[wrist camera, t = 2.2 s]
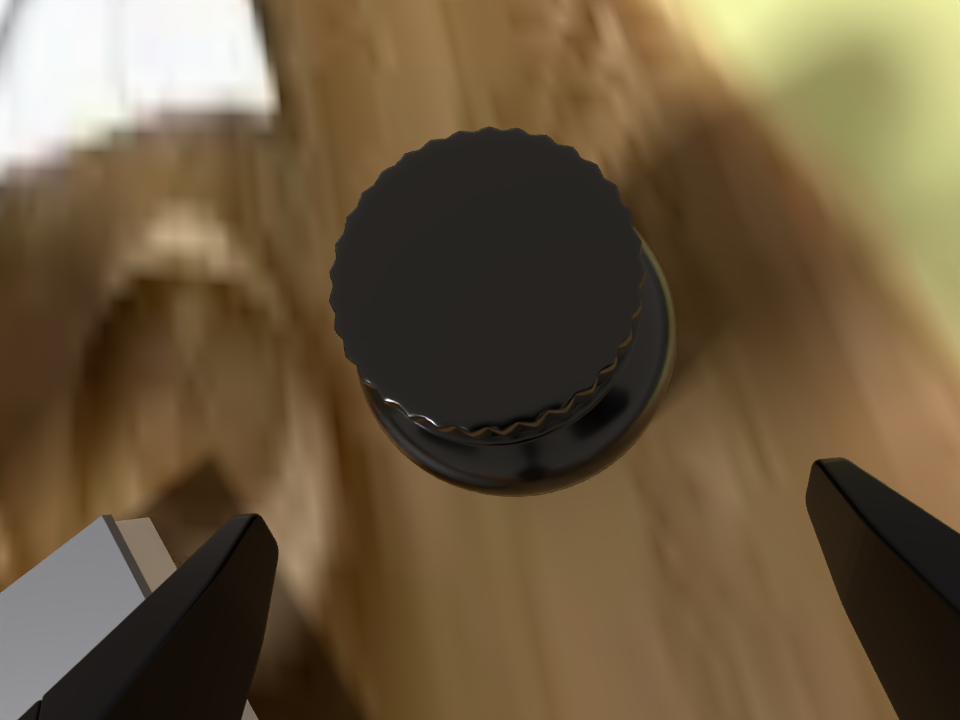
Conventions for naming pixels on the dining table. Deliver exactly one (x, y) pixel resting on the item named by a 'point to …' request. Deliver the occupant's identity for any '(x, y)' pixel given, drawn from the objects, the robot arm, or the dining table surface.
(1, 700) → the book
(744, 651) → the dining table surface
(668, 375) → the supplement bottle
